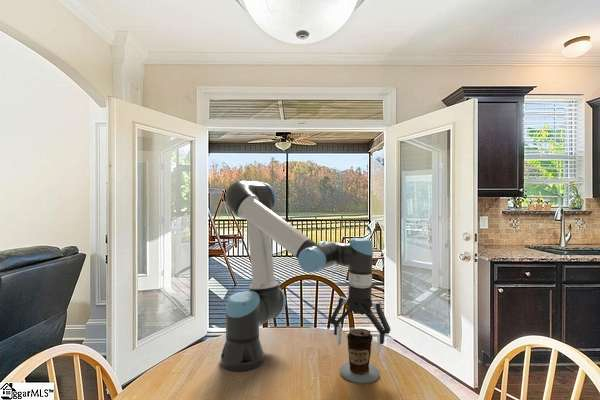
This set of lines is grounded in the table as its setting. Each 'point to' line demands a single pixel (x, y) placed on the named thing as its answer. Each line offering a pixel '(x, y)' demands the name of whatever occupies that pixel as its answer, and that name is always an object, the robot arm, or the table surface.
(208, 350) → the table surface
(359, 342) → the coffee cup
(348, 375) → the grey domed puck
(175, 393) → the table surface
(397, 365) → the table surface
